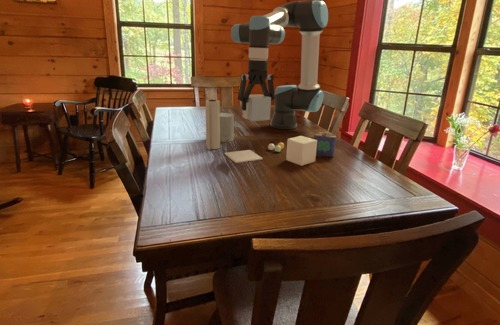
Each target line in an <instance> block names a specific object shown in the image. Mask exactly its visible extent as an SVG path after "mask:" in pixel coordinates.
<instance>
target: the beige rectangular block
mask: <svg viewBox="0 0 500 325" xmlns="http://www.w3.org/2000/svg"><path fill="white" fill-rule="evenodd" d="M316 149H317V140H314V138H311V137H308V136H303V135H298V136H295V137H290V138H287V142H286V156H285V158H286V159H285V161H288V162H290V163H293V164H295V165H298V166H301V167H302V166H304V165H307V164H312V163H314V162H316V157H317V156H316Z"/></svg>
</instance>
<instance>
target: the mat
mask: <svg viewBox="0 0 500 325" xmlns="http://www.w3.org/2000/svg"><path fill="white" fill-rule="evenodd" d="M224 155H225V156H226V157H227V158H228V159H230V161H232V162H233V163H234V164H240V163H247V162H248V161H249V162H254V161H261V160H263V157H262V156H260V155H258V154H257V153H255V151H253V150H251V149H245V150H237V151H236V150H235V151H227V152H224Z"/></svg>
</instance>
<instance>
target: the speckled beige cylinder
mask: <svg viewBox="0 0 500 325" xmlns="http://www.w3.org/2000/svg"><path fill="white" fill-rule="evenodd" d="M234 115H235V114H234V113H231V112H220V143H230V141H231V142H234V128H235V127H234V124H235V122H234V121H235V120H234V119H235V116H234Z"/></svg>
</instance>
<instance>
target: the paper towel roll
mask: <svg viewBox="0 0 500 325" xmlns="http://www.w3.org/2000/svg"><path fill="white" fill-rule="evenodd" d="M220 104H221V101H220V100H219V99H206V100H205V134H206V135H205V136H206V137H205V140H206V149H207V150H209V151H211V150H218V149H220V148H221V142H220V113H221V112H220V110H221V109H220V107H221V106H220Z"/></svg>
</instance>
